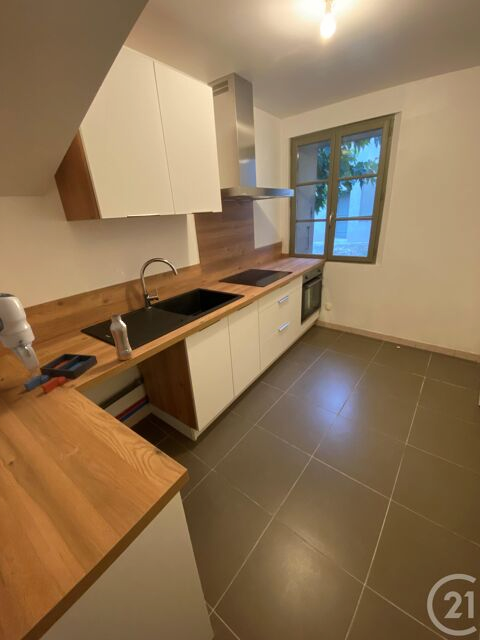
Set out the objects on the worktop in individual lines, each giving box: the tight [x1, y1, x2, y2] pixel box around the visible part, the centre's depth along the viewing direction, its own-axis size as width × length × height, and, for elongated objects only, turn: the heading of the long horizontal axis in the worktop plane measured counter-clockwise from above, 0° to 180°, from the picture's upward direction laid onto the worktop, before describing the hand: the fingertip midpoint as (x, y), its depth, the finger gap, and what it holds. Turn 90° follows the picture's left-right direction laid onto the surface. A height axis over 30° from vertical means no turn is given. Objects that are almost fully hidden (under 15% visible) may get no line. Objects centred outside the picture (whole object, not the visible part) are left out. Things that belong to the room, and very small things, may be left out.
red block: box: [41, 377, 67, 394], centre depth 97 cm, size 8×4×3 cm, turn 168°
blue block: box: [23, 374, 50, 392], centre depth 99 cm, size 8×4×3 cm, turn 168°
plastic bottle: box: [109, 313, 133, 361], centre depth 112 cm, size 6×7×20 cm
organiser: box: [39, 353, 98, 380], centre depth 108 cm, size 16×12×4 cm
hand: (31, 371), depth 97 cm, fingers open, 8 cm apart
